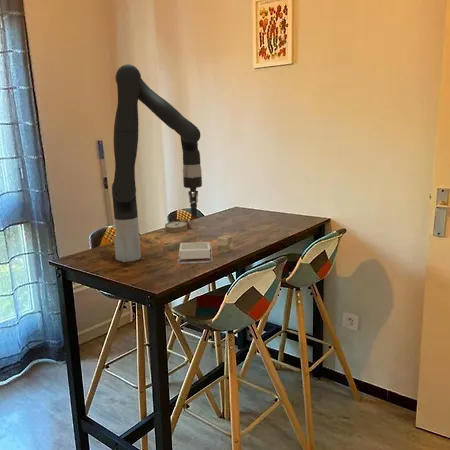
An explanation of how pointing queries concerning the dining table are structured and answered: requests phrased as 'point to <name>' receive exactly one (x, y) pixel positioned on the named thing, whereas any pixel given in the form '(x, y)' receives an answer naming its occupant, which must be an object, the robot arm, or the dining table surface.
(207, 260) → the track
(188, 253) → the shallow white tray
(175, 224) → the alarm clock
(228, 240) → the block
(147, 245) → the dining table surface
